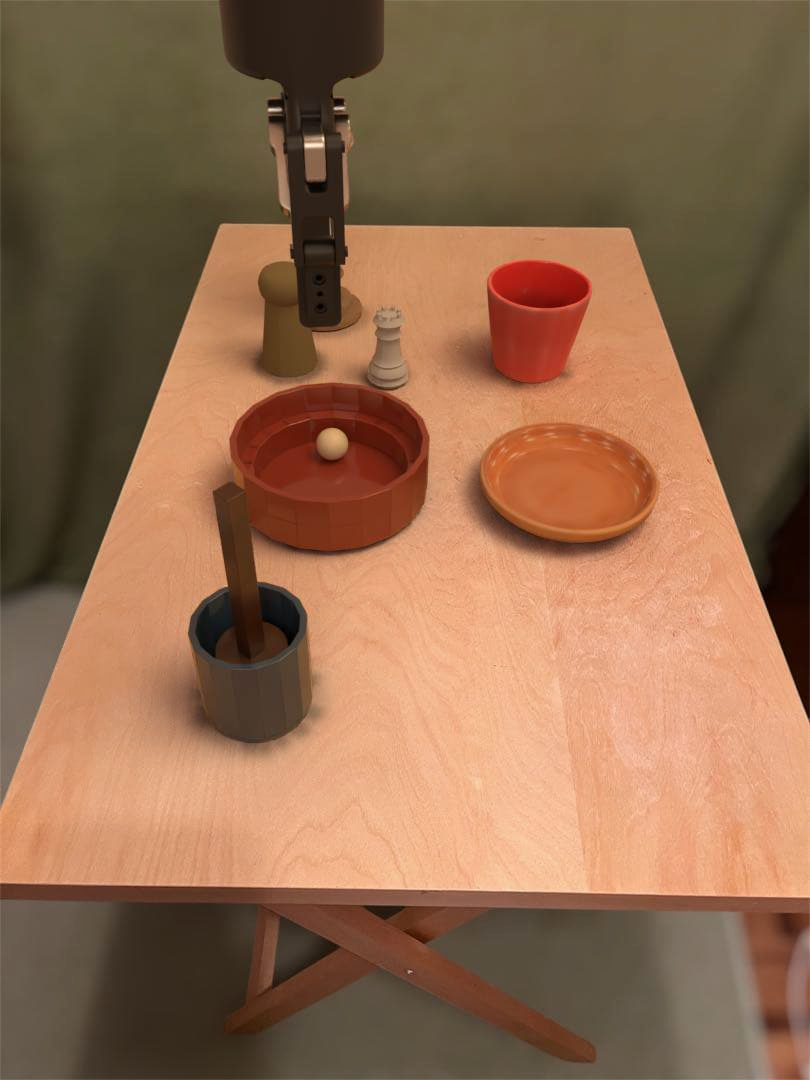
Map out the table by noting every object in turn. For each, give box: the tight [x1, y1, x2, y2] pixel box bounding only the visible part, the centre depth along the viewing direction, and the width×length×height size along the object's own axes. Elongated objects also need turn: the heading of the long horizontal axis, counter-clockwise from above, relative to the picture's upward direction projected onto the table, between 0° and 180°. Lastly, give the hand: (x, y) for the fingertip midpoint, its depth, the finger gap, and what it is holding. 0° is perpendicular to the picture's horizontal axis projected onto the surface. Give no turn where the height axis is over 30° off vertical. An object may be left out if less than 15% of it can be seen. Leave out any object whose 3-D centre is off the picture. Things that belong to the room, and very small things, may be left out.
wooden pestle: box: [212, 480, 289, 664], centre depth 59 cm, size 5×5×19 cm
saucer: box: [479, 421, 661, 544], centre depth 82 cm, size 16×16×3 cm
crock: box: [187, 581, 314, 743], centre depth 63 cm, size 8×8×8 cm
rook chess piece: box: [367, 305, 410, 390], centre depth 94 cm, size 4×4×8 cm
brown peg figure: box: [257, 260, 318, 378], centre depth 96 cm, size 6×6×11 cm
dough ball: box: [316, 428, 348, 460], centre depth 85 cm, size 3×3×3 cm
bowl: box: [228, 382, 431, 552], centre depth 81 cm, size 17×17×6 cm
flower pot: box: [486, 259, 593, 384], centre depth 97 cm, size 11×11×10 cm
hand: (316, 285), depth 51 cm, fingers open, 8 cm apart
